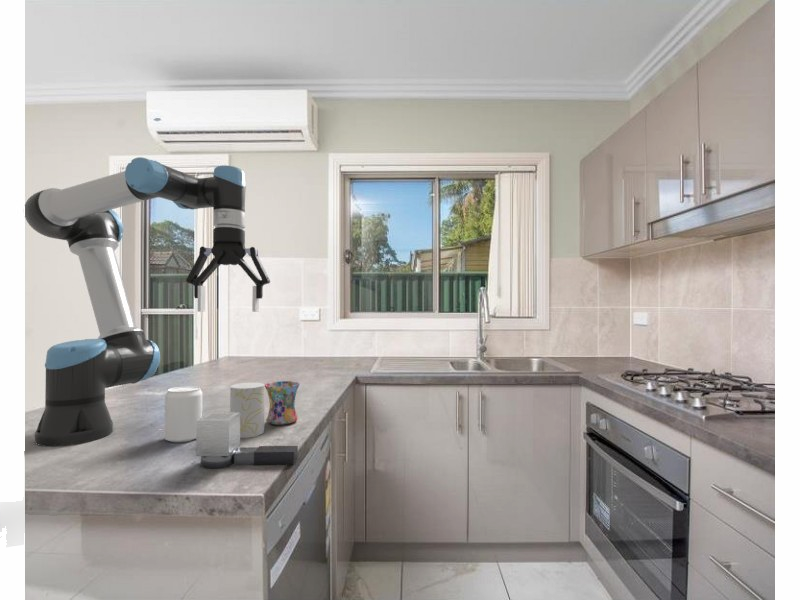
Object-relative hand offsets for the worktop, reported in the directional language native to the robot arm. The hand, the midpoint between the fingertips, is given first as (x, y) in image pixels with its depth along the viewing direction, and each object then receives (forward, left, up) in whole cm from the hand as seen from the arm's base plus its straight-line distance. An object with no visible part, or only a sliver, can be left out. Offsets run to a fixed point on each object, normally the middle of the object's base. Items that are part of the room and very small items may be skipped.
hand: (228, 311), depth 107 cm
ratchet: (+12, -21, -31) cm, 39 cm away
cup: (+5, 0, -31) cm, 31 cm away
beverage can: (-9, -4, -31) cm, 32 cm away
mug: (+11, +11, -31) cm, 35 cm away
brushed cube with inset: (+6, -21, -28) cm, 35 cm away
